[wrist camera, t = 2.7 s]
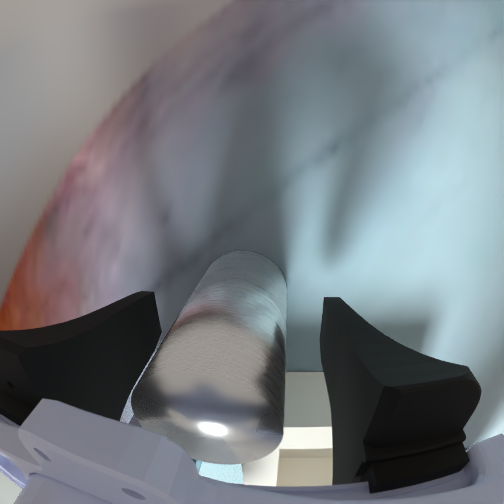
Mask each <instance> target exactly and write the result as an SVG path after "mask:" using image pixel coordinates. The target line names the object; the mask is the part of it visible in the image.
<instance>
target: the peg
mask: <svg viewBox="0 0 504 504" xmlns="http://www.w3.org/2000/svg"><path fill="white" fill-rule="evenodd" d="M286 327H287V287H286V282H285V279H284V276H283V274H282V272H281V271H280V269H279V268H278V267H277V266H276V265H275V264H274V263H273V262H272V261H271V260H270V259H268V258H267V257H265V256H263V255H261V254H258V253H255V252H251V251H234V252H230V253H226V254H224V255H222V256H220V257H219V258H217V259H216V260H215V261H214V262H213V263H212V264H211V265H210V266H209V268H208V269H207V271H206V272H205V274H204V276H203V277H202V279H201V280H200V282H199V283H198V285H197V287H196V288H195V290H194V291H193V293H192V295H191V296H190V298H189V299H188V301H187V303H186V304H185V306H184V307H183V309H182V311H181V312H180V314H179V316H178V317H177V319H176V320H175V322H174V324H173V325H172V327H171V329H170V330H169V332H168V333H167V335H166V337H165V338H164V340H163V342H162V343H161V345H160V347H159V348H158V350H157V352H156V353H155V355H154V357H153V358H152V360H151V362H150V363H149V365H148V367H147V368H146V370H145V372H144V373H143V375H142V377H141V378H140V380H139V382H138V384H137V385H136V387H135V389H134V391H133V393H132V396H131V405H132V410H133V413H134V415H135V417H136V419H137V421H138V422H139V423H140V425H141V426H142V427H143V428H145V429H147V430H150V431H153V432H155V433H158V434H161V435H163V436H165V437H166V438H168V439H169V440H171V441H173V442H174V443H176V444H178V445H179V446H181V447H182V448H183V449H184V451H185V452H186V453H187V454H188V455H189V457H190V458H192V459H195V460H199V461H203V462H209V463H216V464H241V463H248V462H252V461H255V460H258V459H261V458H263V457H265V456H267V455H269V454H270V453H272V452H273V451H274V450H275V449H276V448H277V447H278V446H279V445H280V443H281V441H282V438H283V434H284V410H285V379H286Z"/></svg>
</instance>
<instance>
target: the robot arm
mask: <svg viewBox="0 0 504 504" xmlns="http://www.w3.org/2000/svg"><path fill="white" fill-rule="evenodd" d="M161 333H162V331H161V327H160V322H159V317H158V311H157V306H156V301H155V295H154V292H147V291H140V292H137V293H134V294H132V295H129V296H127V297H125V298H123V299H120V300H118V301H116V302H114V303H112V304H110V305H107V306H105V307H103V308H101V309H98V310H96V311H94V312H91V313H89V314H87V315H84V316H82V317H79V318H76V319H73V320H70V321H67V322H63V323H59V324H55V325H51V326H46V327H41V328H35V329H27V330H12V331H0V472H2V473H3V474H4V475H5V476H7V477H8V478H9V479H10V480H11V481H13V482H14V483H15V484H17V485H18V486H19V487H21V488H22V491H21V493H20V494H19V496H18V498H17V499H16V501H15V503H14V504H504V435H503V434H499V435H496V436H494V437H491V438H489V439H486V440H483V441H481V442H478V443H476V444H475V445H473V446H472V447H470V448H469V449H467V450H465V448H464V445H463V443H462V442H464V441H465V439H466V435H465V433H464V431H463V428H464V426H465V425H466V423H467V422H468V420H469V418H470V417H471V415H472V414H473V412H474V410H475V409H476V407H477V405H478V403H479V400H480V396H481V388H480V385H479V383H478V382H477V380H476V378H475V377H474V375H473V374H472V372H471V371H470V369H469V368H468V366H463V365H458V364H454V363H449V362H445V361H441V360H438V359H435V358H432V357H429V356H426V355H424V354H421V353H419V352H416V351H414V350H412V349H410V348H408V347H405V346H403V345H401V344H400V343H398V342H396V341H394V340H393V339H391V338H389V337H388V336H386V335H384V334H383V333H381V332H380V331H379V330H377V329H376V328H375V327H373V326H372V325H370V324H369V323H368V322H367V321H366V320H364V319H363V318H362V317H361V316H360V315H358V314H357V313H356V312H355V311H354V310H353V309H352V308H351V307H350V306H349V305H347V304H346V303H345V302H344V301H343V300H342V299H341V298H340V297H324V303H323V314H322V324H321V333H320V351H321V362H322V367H323V372H324V377H325V382H326V386H327V391H328V397H329V402H330V409H331V421H332V446H333V477H332V485H327V486H301V487H284V486H258V485H244V484H234V483H226V482H222V481H218V480H214V479H211V478H207V477H204V476H200V475H199V473H198V470H197V468H196V465H195V463H194V461H193V460H192V459H191V458H190V457H189V455H188V454H187V453H186V452H185V451H184V449H183V448H182V447H181V446H179V445H178V444H176V443H174V442H173V441H171V440H169V439H168V438H166V437H165V436H163V435H161V434H158V433H155V432H153V431H150V430H147V429H145V428H142V427H139V426H135V425H131V424H127V423H124V422H120V418H121V415H122V412H123V410H124V407H125V405H126V402H127V400H128V397H129V395H130V393H131V391H132V389H133V387H134V385H135V383H136V381H137V380H138V378H139V376H140V375H141V373H142V371H143V369H144V368H145V366H146V364H147V363H148V361H149V359H150V357H151V356H152V354H153V352H154V350H155V348H156V346H157V343H158V341H159V338H160V335H161Z"/></svg>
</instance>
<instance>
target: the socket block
mask: <svg viewBox="0 0 504 504" xmlns="http://www.w3.org/2000/svg"><path fill="white" fill-rule="evenodd" d="M242 471H243V480H244V485H258V486H284V487H301V486H327V485H332V477H333V446H332V421H331V409H330V402H329V397H328V391H327V386H326V382H325V377H324V372H286V379H285V410H284V434H283V438H282V441H281V443H280V445H279V446H278V447H277V448H276V449H275V450H274V451H273V452H272V453H270V454H269V455H267V456H265V457H263V458H261V459H258V460H255V461H252V462H248V463H242Z"/></svg>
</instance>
